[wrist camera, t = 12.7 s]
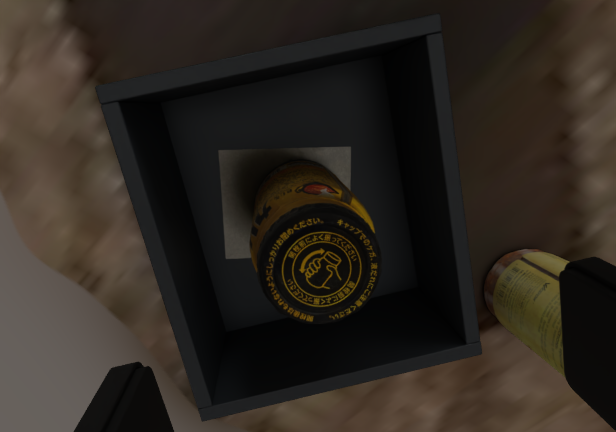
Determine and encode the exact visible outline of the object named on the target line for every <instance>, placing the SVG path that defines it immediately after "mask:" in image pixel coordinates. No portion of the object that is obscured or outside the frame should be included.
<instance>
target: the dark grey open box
mask: <svg viewBox="0 0 616 432" xmlns="http://www.w3.org/2000/svg"><path fill="white" fill-rule="evenodd" d="M441 31H442V26H441V17H440V14H439V13H437V14H432V15H427V16H423V17H418V18H413V19H408V20H404V21H399V22H394V23H390V24H385V25H380V26H376V27H371V28H366V29H361V30H357V31H352V32H347V33H343V34H338V35H333V36H329V37H324V38H319V39H314V40H310V41H305V42H300V43H296V44H291V45H286V46H282V47H277V48H272V49H267V50H263V51H258V52H253V53H249V54H244V55H239V56H235V57H230V58H225V59H220V60H216V61H211V62H206V63H202V64H197V65H192V66H188V67H183V68H178V69H173V70H169V71H164V72H159V73H155V74H150V75H145V76H141V77H136V78H131V79H127V80H122V81H117V82H112V83H108V84H103V85H98V86H96V87H95V89H96V92H97V95H98V98H99V101H100V104H102V105H101V108H102V111H103V114H104V117H105V120H106V123H107V127H108V130H109V133H110V136H111V139H112V142H113V145H114V148H115V152H116V155H117V158H118V161H119V164H120V167H121V170H122V173H123V176H124V180H125V183H126V186H127V189H128V192H129V195H130V198H131V201H132V204H133V208H134V211H135V214H136V217H137V220H138V223H139V226H140V229H141V233H142V236H143V239H144V242H145V245H146V248H147V251H148V254H149V257H150V261H151V264H152V267H153V270H154V273H155V276H156V279H157V282H158V285H159V289H160V292H161V295H162V298H163V301H164V304H165V307H166V310H167V314H168V317H169V320H170V323H171V326H172V329H173V332H174V335H175V338H176V342H177V345H178V348H179V351H180V354H181V357H182V360H183V363H184V366H185V370H186V373H187V376H188V379H189V382H190V385H191V388H192V391H193V395H194V398H195V401H196V404H197V407H198V411H199V414H200V417H201V420H202V421H207V420H211V419H215V418H219V417H223V416H228V415H232V414H236V413H240V412H244V411H248V410H252V409H257V408H261V407H265V406H269V405H273V404H277V403H281V402H286V401H290V400H294V399H298V398H302V397H306V396H311V395H315V394H319V393H323V392H327V391H331V390H335V389H340V388H344V387H348V386H352V385H356V384H360V383H364V382H369V381H373V380H377V379H381V378H385V377H389V376H393V375H398V374H402V373H406V372H410V371H414V370H418V369H422V368H427V367H431V366H435V365H439V364H443V363H447V362H452V361H456V360H460V359H464V358H468V357H472V356H476V355H481V354H482V349H481V342H480V336H479V328H478V320H477V312H476V303H475V295H474V287H473V279H472V271H471V263H470V255H469V246H468V238H467V230H466V222H465V214H464V206H463V198H462V189H461V181H460V173H459V165H458V157H457V149H456V141H455V132H454V124H453V116H452V108H451V100H450V92H449V84H448V76H447V67H446V59H445V51H444V43H443V35H442V32H441ZM318 147H351V179H350V191H351V192H352V193H353V194H354V195H355V196H356V197H357V198H358V200H359V201H360V202H361V203H362V204H363V205H364V207H365V209H366V210H367V212H368V214H369V216H370V218H371V220H372V221H373V225H374V230H375V235H376V238H377V241H378V242H379V246H380V249H381V256H382V264H381V266H382V271H381V275H380V278H379V281H378V284H377V287H376V289H375V291H374V292H373V294H372V295H371V297H370V299H369V300H368V302H367V303H366V304H365V305H364V306H363V307H362V308H361V309H360V310H359V311H358V312H356V313H353V314H351V315H349V316H347V317H345V318H344V319H342V320H341V321H338V322H333V323H325V324H306V323H301V322H299V321H297V320H294V319H292V318H290V317H288V316H285V315H283V314H280V313H279V312H278V311H277V310H276V309H275V308H274V306H273V305H272V304H271V303H270V302H269V300H268V299H267V298H266V297H265V295H264V293H263V291H262V289H261V286H260V284H259V282H258V278H257V272H256V270H255V268H254V265H253V262H252V258H239V259H226V254H225V238H224V224H223V208H222V192H221V179H220V165H219V153H218V150H243V149H279V148H318Z"/></svg>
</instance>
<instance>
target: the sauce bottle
mask: <svg viewBox="0 0 616 432" xmlns="http://www.w3.org/2000/svg"><path fill="white" fill-rule="evenodd" d="M567 263H569V261H566V260H564V259H562V258H560V257H557V256H555V255H553V254H549V253H545V252H543V251H541V250H538V249H524V250H518V251H515V252H511V253H508V254H506V255H504V256H503V257H502V258H500V259H499V260H498V261H497V262H496V263H495V264H494V266H493V268H492V269H491V270H490V271H489V273H488V275H487V278H486V280H485V285H484V299H485V301H486V304H487V307H488V309H489V310H490V311H491V313H492V314H493V315H494V316H495V317H497V318H498V320H499V322H500V323H501V324H502V325H503V326H504V327H505V328H506V329H507V330H509V331H510V332H511V333H512V334H513V335H515V336H516V337H517V338H518V339H519V340H521V341H522V342H523V343H524V344H525V345H527V346H528V347H529V348H530V349H532V350H533V351H534V352H535V353H536V354H538V355H539V356H540V357H541V358H542V359H544V360H545V361H546V362H547V363H548V364H550V365H551V366H552V367H553V368H554V369H556V370H557V371H558V372H559V373H561V374H562V375H563V376H564V377H565V374H564V362H563V343H562V325H561V307H560V289H559V274H560V272H561V271H563V270H564V268H565V266H566V264H567ZM565 378H566V377H565Z"/></svg>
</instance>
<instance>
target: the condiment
mask: <svg viewBox="0 0 616 432" xmlns="http://www.w3.org/2000/svg"><path fill="white" fill-rule="evenodd" d="M218 153H219V165H220V179H221V192H222V208H223V224H224V238H225V254H226V259H239V258H252V262H253V265H254V268H255V270H256V272H257V278H258V282H259V284H260V286H261V289H262V291H263V293H264V295H265V297H266V298H267V299H268V300H269V302H270V303H271V304H272V305H273V306H274V308H275V309H276V310H277V311H278V312H279V313H280V314H283V315H285V316H288V317H290V318H292V319H294V320H297V321H299V322H301V323H306V324H325V323H333V322H338V321H341V320H342V319H344V318H345V317H347V316H349V315H351V314H353V313H356V312H358V311H359V310H360V309H361V308H362V307H363V306H364V305H365V304H366V303H367V302H368V300H369V299H370V297H371V295H372V294H373V292H374V291H375V289H376V287H377V284H378V281H379V278H380V275H381V271H382V266H381V264H382V256H381V249H380V246H379V242H378V241H377V238H376V235H375V230H374V225H373V221H372V220H371V218H370V216H369V214H368V212H367V210H366V209H365V207H364V205H363V204H362V203H361V202H360V201H359V200H358V198H357V197H356V196H355V195H354V194H353V193H352V192H351V191H350V179H351V147H318V148H279V149H243V150H218Z"/></svg>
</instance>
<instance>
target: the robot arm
mask: <svg viewBox="0 0 616 432" xmlns="http://www.w3.org/2000/svg"><path fill="white" fill-rule="evenodd" d="M559 289H560V307H561V325H562V343H563V362H564V374H565V377H566V380H567V382H568V384H569V385H570V387H571V388H572V389H573V390H574V391H575V392H576V393H577V394H578V395H579V396H580V397H581V398H582V399H583V400H584V401H585V402H586V403H587V404H588V405H589V406H590V407H591V408H592V409H593V410H594V411H595V412H596V413H597V414H599V415H600V416H601V417H602V418H603V419H604V420H605V421H606V422H607V423H608V424H609V425H610V426H611V427H612V428H613V429H614V430H615V431H616V266H614V265H612V264H610V263H608V262H606V261H604V260H602V259H600V258H597V257H591V258H586V259H582V260H577V261H573V262H569V263H567V264H566V266H565V268H564V270H563V271H561V272H560V274H559ZM74 432H174V430H173V427H172V424H171V421H170V418H169V416H168V413H167V410H166V407H165V404H164V402H163V399H162V396H161V393H160V390H159V387H158V384H157V382H156V379H155V376H154V373H153V371H152V369H151V368H150V367H149V366H147V367H143V365H142V364H141V363H140V362H135V363H130V364H126V365H122V366H117V367H114V368H111V370H110V371H109V372H108V374H107V376H106V377H105V379H104V381H103V382H102V384H101V386H100V388H99V389H98V391H97V393H96V394H95V396H94V398H93V400H92V401H91V403H90V405H89V406H88V408H87V410H86V412H85V413H84V415H83V417H82V418H81V420H80V422H79V423H78V425H77V427H76V429H75V430H74Z"/></svg>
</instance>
